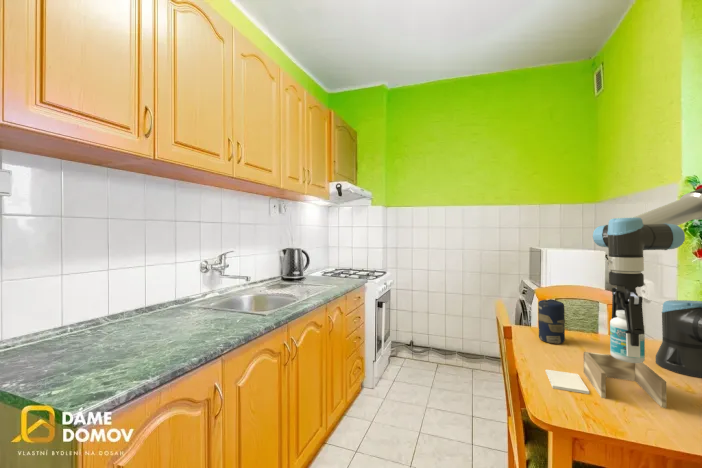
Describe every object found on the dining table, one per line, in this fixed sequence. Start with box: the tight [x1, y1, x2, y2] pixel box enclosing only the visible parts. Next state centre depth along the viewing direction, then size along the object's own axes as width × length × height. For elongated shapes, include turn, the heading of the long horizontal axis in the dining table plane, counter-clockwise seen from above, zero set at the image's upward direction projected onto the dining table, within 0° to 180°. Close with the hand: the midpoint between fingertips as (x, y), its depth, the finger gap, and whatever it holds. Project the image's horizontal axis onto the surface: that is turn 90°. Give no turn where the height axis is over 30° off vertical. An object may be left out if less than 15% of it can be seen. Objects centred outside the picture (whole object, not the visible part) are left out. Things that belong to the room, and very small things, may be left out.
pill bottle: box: [609, 310, 646, 363], centre depth 90 cm, size 8×7×14 cm
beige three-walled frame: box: [583, 351, 667, 409], centre depth 93 cm, size 14×17×7 cm
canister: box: [537, 298, 566, 344], centre depth 134 cm, size 10×10×18 cm
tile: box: [545, 369, 590, 395], centre depth 98 cm, size 9×12×1 cm
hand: (627, 351), depth 90 cm, fingers closed on pill bottle, 7 cm apart
